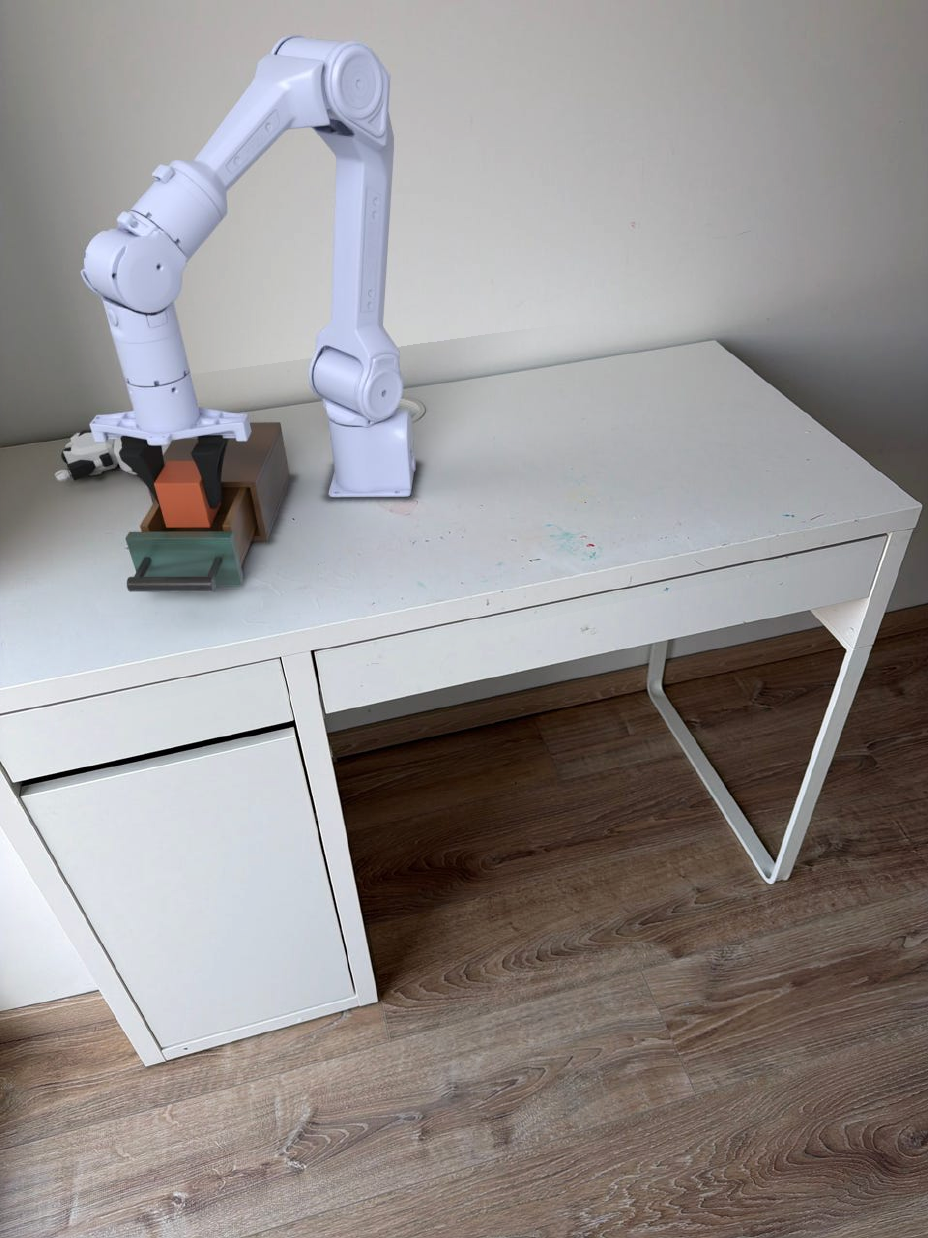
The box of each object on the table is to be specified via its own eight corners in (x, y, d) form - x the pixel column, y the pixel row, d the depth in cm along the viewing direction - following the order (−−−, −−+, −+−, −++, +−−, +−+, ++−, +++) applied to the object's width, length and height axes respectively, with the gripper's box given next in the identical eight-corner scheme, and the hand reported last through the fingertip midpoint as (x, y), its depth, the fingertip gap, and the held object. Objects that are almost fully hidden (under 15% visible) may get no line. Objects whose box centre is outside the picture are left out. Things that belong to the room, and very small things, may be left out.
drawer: (229, 615, 84) (217, 566, 80) (124, 615, 84) (108, 567, 81) (266, 518, 97) (257, 472, 94) (175, 518, 98) (163, 473, 94)
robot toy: (60, 503, 104) (187, 482, 105) (44, 469, 101) (175, 448, 102) (80, 453, 114) (196, 435, 114) (66, 421, 111) (185, 402, 111)
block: (221, 503, 90) (211, 460, 87) (210, 527, 87) (199, 483, 84) (178, 504, 91) (167, 460, 87) (166, 527, 87) (153, 483, 84)
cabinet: (267, 541, 95) (255, 481, 91) (163, 541, 96) (146, 482, 91) (290, 478, 106) (280, 421, 101) (196, 479, 106) (182, 422, 101)
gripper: (61, 393, 77) (105, 525, 85) (226, 392, 76) (253, 524, 85) (90, 360, 82) (129, 487, 91) (244, 359, 81) (269, 487, 90)
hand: (190, 503), depth 88 cm, fingers closed on block, 4 cm apart
